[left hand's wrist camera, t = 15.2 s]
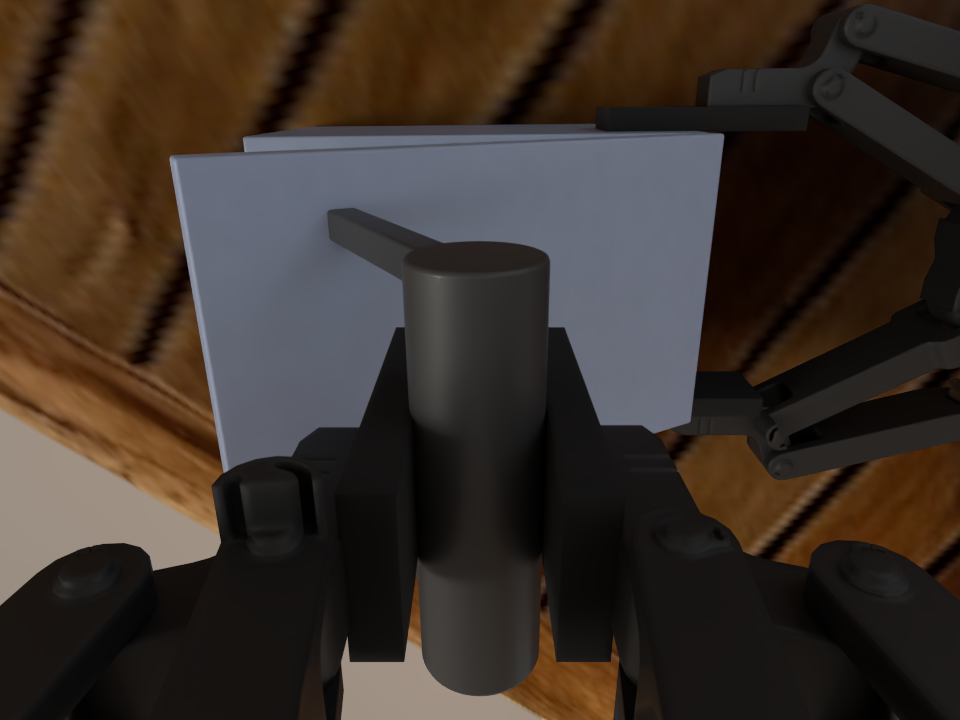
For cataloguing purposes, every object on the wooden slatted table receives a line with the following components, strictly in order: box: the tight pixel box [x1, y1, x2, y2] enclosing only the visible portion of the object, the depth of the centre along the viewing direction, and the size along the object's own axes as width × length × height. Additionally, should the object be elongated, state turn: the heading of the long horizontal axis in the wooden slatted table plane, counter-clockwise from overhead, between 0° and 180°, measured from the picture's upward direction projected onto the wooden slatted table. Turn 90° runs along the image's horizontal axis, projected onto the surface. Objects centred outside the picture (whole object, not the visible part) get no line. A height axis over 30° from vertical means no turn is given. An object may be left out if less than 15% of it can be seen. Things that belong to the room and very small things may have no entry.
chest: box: [243, 124, 707, 152], centre depth 27 cm, size 15×10×9 cm, turn 91°
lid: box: [170, 133, 724, 696], centre depth 16 cm, size 15×10×8 cm, turn 92°
